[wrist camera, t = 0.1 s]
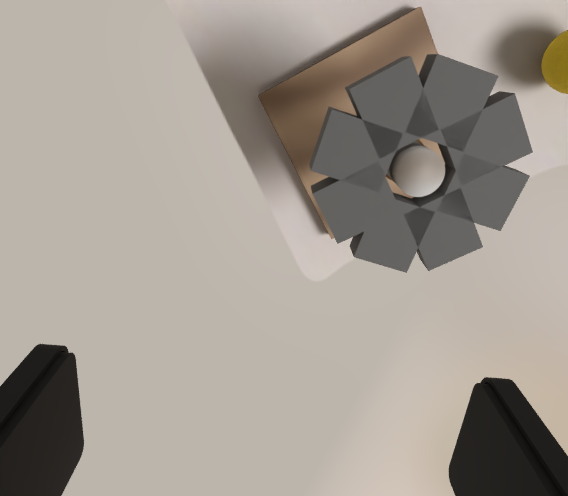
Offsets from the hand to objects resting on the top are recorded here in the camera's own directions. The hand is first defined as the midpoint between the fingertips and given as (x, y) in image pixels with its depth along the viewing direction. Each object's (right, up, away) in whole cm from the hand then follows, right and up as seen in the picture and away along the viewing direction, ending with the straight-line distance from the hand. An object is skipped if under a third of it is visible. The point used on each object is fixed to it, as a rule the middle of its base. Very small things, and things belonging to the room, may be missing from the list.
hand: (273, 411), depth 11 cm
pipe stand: (+9, +15, +34) cm, 38 cm away
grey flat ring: (+9, +9, +19) cm, 23 cm away
